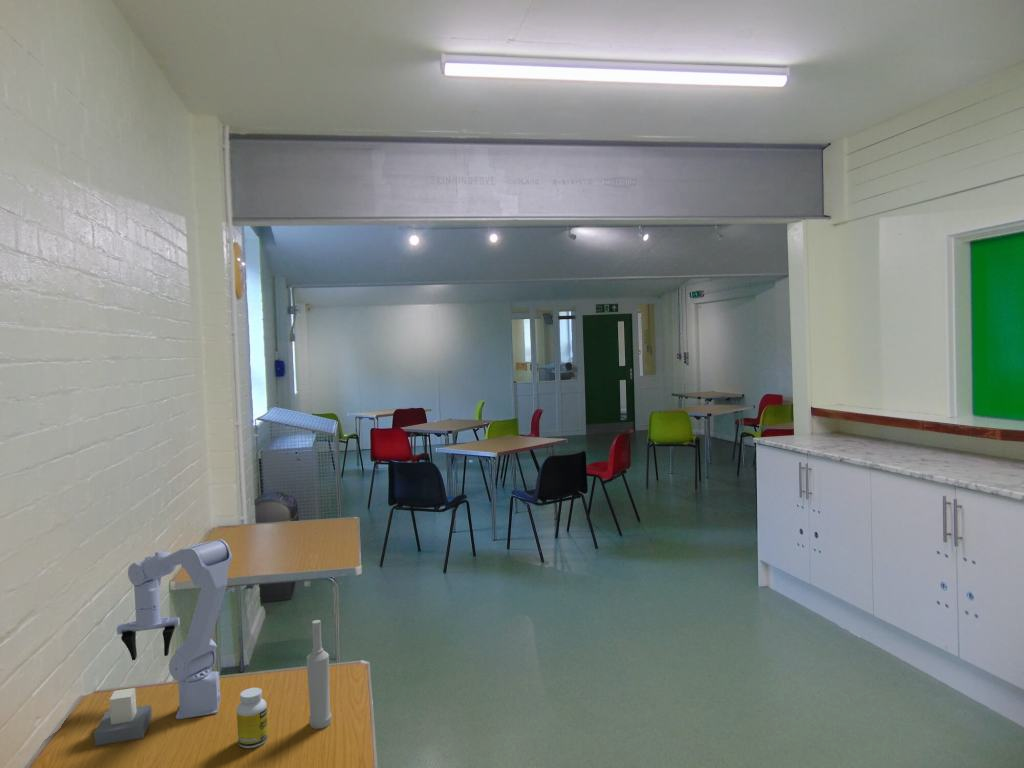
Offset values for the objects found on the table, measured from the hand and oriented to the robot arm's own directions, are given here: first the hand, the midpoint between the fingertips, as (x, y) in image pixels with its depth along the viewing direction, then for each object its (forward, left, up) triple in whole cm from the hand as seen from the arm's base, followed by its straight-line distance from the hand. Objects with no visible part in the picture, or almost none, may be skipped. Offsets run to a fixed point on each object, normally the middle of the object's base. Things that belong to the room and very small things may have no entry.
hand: (150, 656), depth 186 cm
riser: (+3, +17, -10) cm, 20 cm away
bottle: (-42, +29, -11) cm, 52 cm away
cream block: (+3, +17, -7) cm, 19 cm away
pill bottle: (-27, +32, -11) cm, 43 cm away
